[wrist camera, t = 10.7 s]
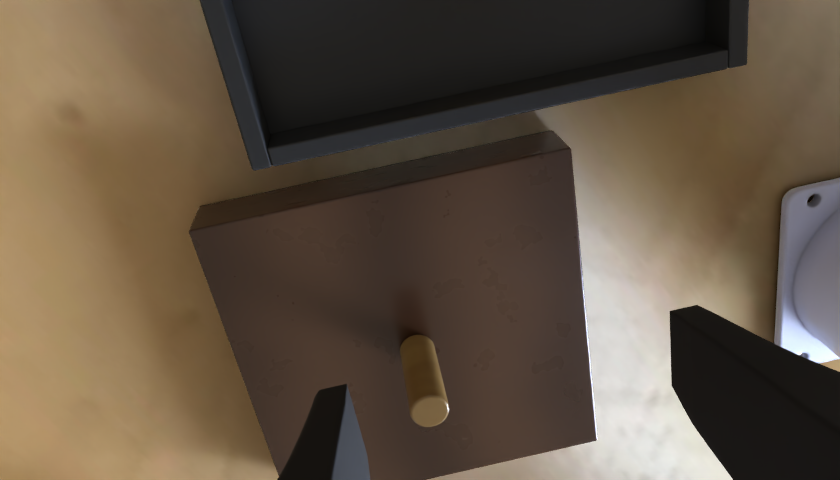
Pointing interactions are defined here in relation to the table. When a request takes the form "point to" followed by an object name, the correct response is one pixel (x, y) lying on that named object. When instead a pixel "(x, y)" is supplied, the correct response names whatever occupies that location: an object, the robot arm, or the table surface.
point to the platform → (414, 306)
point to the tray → (446, 62)
